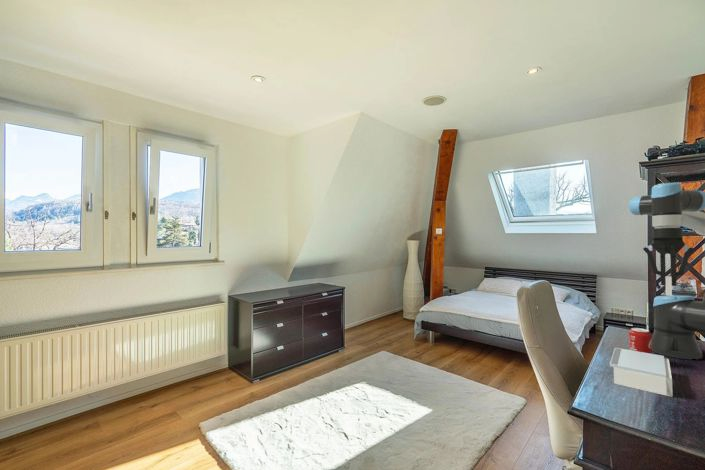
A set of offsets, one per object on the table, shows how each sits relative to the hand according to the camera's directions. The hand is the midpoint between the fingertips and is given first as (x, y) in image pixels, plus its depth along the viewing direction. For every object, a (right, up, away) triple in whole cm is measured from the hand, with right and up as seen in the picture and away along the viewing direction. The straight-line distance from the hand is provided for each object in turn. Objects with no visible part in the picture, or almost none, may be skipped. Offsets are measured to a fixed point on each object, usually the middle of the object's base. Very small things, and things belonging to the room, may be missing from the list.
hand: (668, 294), depth 112 cm
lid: (-16, -21, -6) cm, 27 cm away
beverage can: (-3, -27, +8) cm, 28 cm away
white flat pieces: (-16, -26, -6) cm, 31 cm away
